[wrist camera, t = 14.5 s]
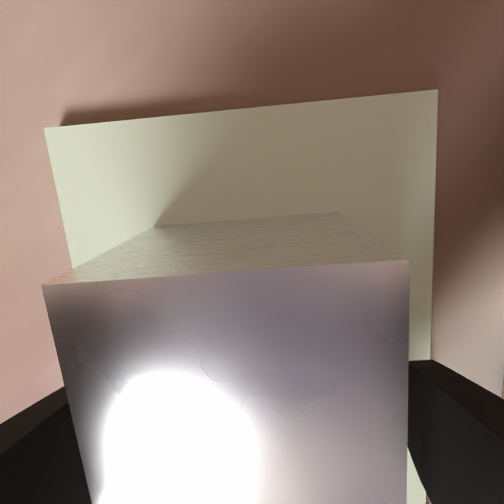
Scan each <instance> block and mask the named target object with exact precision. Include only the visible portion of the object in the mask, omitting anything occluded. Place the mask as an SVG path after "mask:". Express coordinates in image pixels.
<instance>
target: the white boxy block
mask: <svg viewBox="0 0 504 504" xmlns="http://www.w3.org/2000/svg"><path fill="white" fill-rule="evenodd" d="M41 286H42V290H43V295H44V299H45V303H46V308H47V312H48V316H49V321H50V325H51V329H52V334H53V338H54V342H55V347H56V351H57V355H58V359H59V364H60V368H61V372H62V377H63V381H64V385H65V390H66V394H67V398H68V403H69V407H70V411H71V416H72V420H73V424H74V429H75V433H76V437H77V441H78V446H79V450H80V454H81V459H82V463H83V467H84V472H85V476H86V480H87V485H88V489H89V493H90V498H91V502H92V504H407V438H408V368H409V297H410V259H409V258H408V257H406V256H404V255H403V254H401V253H400V252H398V251H397V250H395V249H394V248H392V247H391V246H389V245H388V244H386V243H385V242H383V241H382V240H380V239H379V238H377V237H376V236H374V235H373V234H371V233H369V232H368V231H366V230H365V229H363V228H362V227H360V226H359V225H357V224H356V223H354V222H353V221H351V220H350V219H348V218H347V217H345V216H344V215H342V214H341V213H339V212H328V213H316V214H303V215H291V216H278V217H266V218H253V219H241V220H228V221H216V222H203V223H191V224H178V225H166V226H153V227H152V228H150V229H148V230H146V231H144V232H142V233H140V234H138V235H136V236H134V237H132V238H131V239H129V240H127V241H125V242H123V243H121V244H119V245H117V246H115V247H113V248H111V249H110V250H108V251H106V252H104V253H102V254H100V255H98V256H96V257H94V258H92V259H90V260H89V261H87V262H85V263H83V264H81V265H79V266H77V267H75V268H73V269H71V270H70V271H68V272H66V273H64V274H62V275H60V276H58V277H56V278H54V279H52V280H50V281H49V282H47V283H45V284H43V285H41Z"/></svg>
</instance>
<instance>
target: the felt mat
mask: <svg viewBox="0 0 504 504" xmlns="http://www.w3.org/2000/svg"><path fill="white" fill-rule="evenodd" d="M437 114H438V89H435V90H425V91H415V92H404V93H394V94H384V95H374V96H364V97H354V98H344V99H334V100H324V101H314V102H303V103H293V104H283V105H273V106H263V107H253V108H243V109H233V110H223V111H213V112H202V113H192V114H182V115H172V116H162V117H152V118H142V119H132V120H122V121H111V122H101V123H91V124H81V125H71V126H61V127H51V128H44V132H45V137H46V142H47V147H48V152H49V156H50V161H51V166H52V171H53V176H54V180H55V185H56V190H57V195H58V200H59V204H60V209H61V214H62V219H63V224H64V229H65V233H66V238H67V243H68V248H69V253H70V257H71V262H72V267H73V268H75V267H77V266H79V265H81V264H83V263H85V262H87V261H89V260H90V259H92V258H94V257H96V256H98V255H100V254H102V253H104V252H106V251H108V250H110V249H111V248H113V247H115V246H117V245H119V244H121V243H123V242H125V241H127V240H129V239H131V238H132V237H134V236H136V235H138V234H140V233H142V232H144V231H146V230H148V229H150V228H152V227H153V226H166V225H178V224H191V223H203V222H216V221H228V220H241V219H253V218H266V217H278V216H291V215H303V214H316V213H328V212H339V213H341V214H342V215H344V216H345V217H347V218H348V219H350V220H351V221H353V222H354V223H356V224H357V225H359V226H360V227H362V228H363V229H365V230H366V231H368V232H369V233H371V234H373V235H374V236H376V237H377V238H379V239H380V240H382V241H383V242H385V243H386V244H388V245H389V246H391V247H392V248H394V249H395V250H397V251H398V252H400V253H401V254H403V255H404V256H406V257H408V258H409V259H410V297H409V361H413V360H430V348H431V314H432V281H433V248H434V214H435V181H436V148H437ZM407 504H426V491H425V489H424V487H423V485H422V483H421V481H420V479H419V476H418V474H417V471H416V468H415V466H414V463H413V461H412V458H411V455H410V452H409V450H408V447H407Z"/></svg>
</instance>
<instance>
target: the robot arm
mask: <svg viewBox="0 0 504 504" xmlns="http://www.w3.org/2000/svg"><path fill="white" fill-rule="evenodd" d="M407 447H408V450H409V452H410V455H411V458H412V461H413V463H414V466H415V468H416V471H417V474H418V476H419V479H420V481H421V483H422V485H423V487H424V489H425V491H426V493H427V495H428V497H429V499H430V501H431V503H432V504H504V399H502V398H500V397H499V396H497V395H495V394H493V393H492V392H490V391H488V390H486V389H485V388H483V387H481V386H479V385H478V384H476V383H474V382H472V381H471V380H469V379H467V378H465V377H464V376H462V375H460V374H458V373H456V372H455V371H453V370H451V369H449V368H447V367H446V366H444V365H442V364H440V363H438V362H436V361H434V360H413V361H409V368H408V438H407ZM0 504H92V502H91V498H90V493H89V489H88V485H87V480H86V476H85V472H84V467H83V463H82V459H81V454H80V450H79V446H78V441H77V437H76V433H75V429H74V424H73V420H72V416H71V411H70V407H69V403H68V398H67V394H66V390H65V386H64V387H62V388H60V389H59V390H57V391H55V392H53V393H52V394H50V395H48V396H46V397H45V398H43V399H41V400H40V401H38V402H36V403H35V404H33V405H31V406H30V407H28V408H26V409H25V410H23V411H21V412H20V413H18V414H16V415H15V416H13V417H11V418H10V419H8V420H6V421H5V422H3V423H2V424H0Z"/></svg>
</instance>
